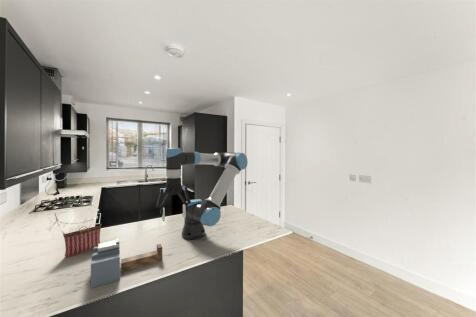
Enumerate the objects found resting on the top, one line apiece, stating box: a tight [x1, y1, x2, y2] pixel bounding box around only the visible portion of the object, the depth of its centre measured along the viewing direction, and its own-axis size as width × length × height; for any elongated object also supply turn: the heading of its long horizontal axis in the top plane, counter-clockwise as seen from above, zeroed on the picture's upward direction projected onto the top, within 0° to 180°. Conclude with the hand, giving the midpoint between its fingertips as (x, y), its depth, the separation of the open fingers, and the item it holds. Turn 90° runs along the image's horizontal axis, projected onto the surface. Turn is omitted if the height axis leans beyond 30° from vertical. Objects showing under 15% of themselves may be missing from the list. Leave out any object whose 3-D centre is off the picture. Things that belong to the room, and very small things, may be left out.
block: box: [90, 244, 121, 289], centre depth 88 cm, size 10×16×12 cm, turn 32°
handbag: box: [52, 213, 102, 259], centre depth 103 cm, size 7×21×25 cm, turn 141°
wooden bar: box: [120, 243, 163, 273], centre depth 95 cm, size 18×4×7 cm, turn 122°
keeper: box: [98, 237, 121, 253], centre depth 88 cm, size 8×5×4 cm, turn 122°
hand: (174, 218), depth 103 cm, fingers open, 10 cm apart
